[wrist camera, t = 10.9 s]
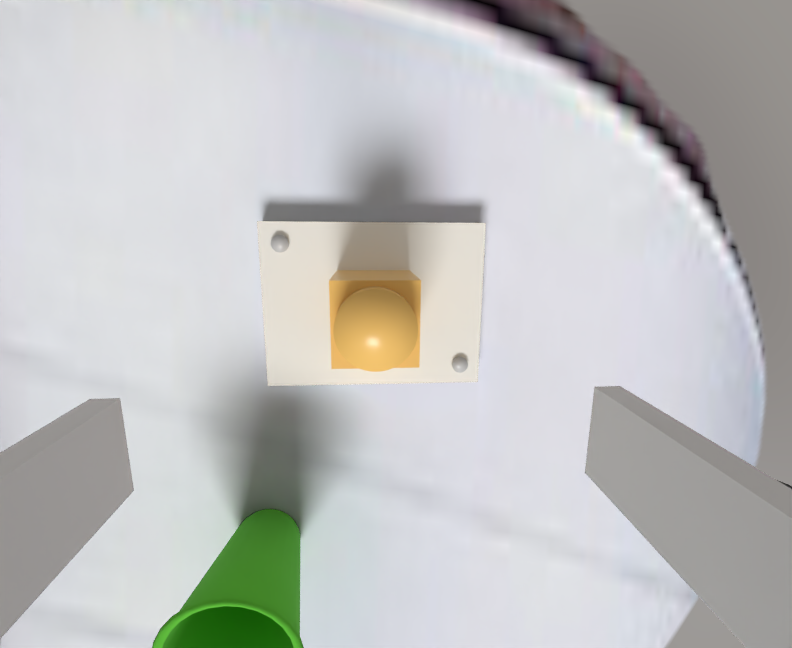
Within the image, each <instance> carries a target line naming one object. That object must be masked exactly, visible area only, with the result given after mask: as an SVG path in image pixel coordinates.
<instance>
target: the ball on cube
mask: <svg viewBox="0 0 792 648" xmlns="http://www.w3.org/2000/svg"><path fill="white" fill-rule="evenodd" d="M329 302H330V335H331V369H362V370H365V371H371V372H380V371H386V370H389V369H392V368H419V367H420V313H421V280H420V279H419V278H418V277H417V276H416V275H415V274H413V273H412V272H411V271H410V270H337V271H336V272H335V274H334V275H333V276H332V277H331V279H330V280H329Z"/></svg>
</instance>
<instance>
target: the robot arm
mask: <svg viewBox="0 0 792 648" xmlns="http://www.w3.org/2000/svg"><path fill="white" fill-rule="evenodd" d="M585 473H586V474H587V475H588V477H589V478H590V479H591V480H592V481H593V482H594V483H595V484H596V485H597V486H598V487H599V488H600V490H601V491H602V492H603V493H604V494H605V495H606V496H607V497H608V498H609V499H610V500H611V502H612V503H613V504H614V505H615V506H616V507H617V508H618V509H619V510H620V511H621V512H622V514H623V515H624V516H625V517H626V518H627V519H628V520H629V521H630V522H631V523H632V524H633V525H634V527H635V528H636V529H637V530H638V531H639V532H640V533H641V534H642V535H643V536H644V537H645V539H646V540H647V541H648V542H649V543H650V544H651V545H652V546H653V547H654V548H655V549H656V550H657V552H658V553H659V554H660V555H661V556H662V557H663V558H664V559H665V560H666V561H667V562H668V564H669V565H670V566H671V567H672V568H673V569H674V570H675V571H676V572H677V573H678V574H679V576H680V577H681V578H682V579H683V580H684V581H685V582H686V583H687V584H688V585H689V586H690V587H691V589H692V590H693V591H694V592H695V593H696V594H697V595H698V596H699V597H700V598H701V599H702V600H703V602H704V603H705V604H706V605H707V606H708V607H709V608H710V609H711V610H712V611H713V613H715V615H716V616H717V617H718V618H719V619H720V620H721V621H722V622H723V623H724V624H725V626H726V627H727V628H728V629H729V630H730V631H731V632H732V633H733V634H734V635H735V636H736V638H737V639H738V640H739V641H740V642H741V643H742V644H743V645H744V646H745V647H746V648H792V487H791V486H790V485H788V484H785V483H783V482H780V481H778V480H776V479H774V478H772V477H771V476H769V475H767V474H766V473H764V472H762V471H761V470H759V469H757V468H756V467H754V466H752V465H751V464H749V463H747V462H746V461H744V460H742V459H741V458H739V457H737V456H736V455H734V454H732V453H731V452H729V451H727V450H726V449H724V448H722V447H721V446H719V445H717V444H716V443H714V442H712V441H711V440H709V439H707V438H706V437H704V436H702V435H701V434H699V433H697V432H696V431H694V430H692V429H691V428H689V427H687V426H686V425H684V424H682V423H680V422H679V421H677V420H675V419H674V418H672V417H670V416H669V415H667V414H665V413H664V412H662V411H660V410H659V409H657V408H655V407H654V406H652V405H650V404H649V403H647V402H645V401H644V400H642V399H640V398H639V397H637V396H635V395H634V394H632V393H630V392H629V391H627V390H625V389H624V388H622V387H620V386H608V387H595V388H594V396H593V405H592V414H591V423H590V432H589V441H588V449H587V458H586V467H585ZM133 491H134V488H133V482H132V475H131V468H130V462H129V455H128V448H127V442H126V435H125V428H124V422H123V415H122V408H121V401H120V398H113V399H89V400H87V401H86V402H84V403H82V404H81V405H79V406H77V407H76V408H74V409H72V410H71V411H69V412H67V413H66V414H64V415H62V416H61V417H59V418H57V419H56V420H54V421H52V422H51V423H49V424H47V425H46V426H44V427H42V428H41V429H39V430H38V431H36V432H34V433H33V434H31V435H29V436H28V437H26V438H24V439H23V440H21V441H19V442H18V443H16V444H14V445H13V446H11V447H9V448H8V449H6V450H4V451H3V452H1V453H0V639H1V638H2V636H3V635H4V634H5V633H6V632H7V631H8V630H9V629H10V628H11V626H12V625H13V624H14V623H15V622H16V621H17V620H18V619H19V618H20V616H21V615H22V614H23V613H24V612H25V611H26V610H27V609H28V608H29V606H30V605H31V604H32V603H33V602H34V601H35V600H36V599H37V598H38V596H39V595H40V594H41V593H42V592H43V591H44V590H45V589H46V588H47V586H48V585H49V584H50V583H51V582H52V581H53V580H54V579H55V578H56V576H57V575H58V574H59V573H60V572H61V571H62V570H63V569H64V568H65V566H66V565H67V564H68V563H69V562H70V561H71V560H72V559H73V558H74V556H75V555H76V554H77V553H78V552H79V551H80V550H81V549H82V548H83V546H84V545H85V544H86V543H87V542H88V541H89V540H90V539H91V538H92V536H93V535H94V534H95V533H96V532H97V531H98V530H99V529H100V528H101V526H102V525H103V524H104V523H105V522H106V521H107V520H108V519H109V518H110V516H111V515H112V514H113V513H114V512H115V511H116V510H117V509H118V508H119V506H120V505H121V504H122V503H123V502H124V501H125V500H126V499H127V498H128V496H129V495H130V494H131V493H132V492H133Z"/></svg>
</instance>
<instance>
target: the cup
mask: <svg viewBox="0 0 792 648" xmlns="http://www.w3.org/2000/svg"><path fill="white" fill-rule="evenodd" d="M152 648H304V647H303V644H302V641H301V638H300V532H299V529H298V527H297V524H296V523H295V521H294V520H293V519H292V518H291V517H290V516H289V515H288V514H286V513H284V512H282V511H279V510H276V509H265V510H260V511H257V512H255V513H253V514H252V515H250V516H249V517H247V518H246V519H245V520H244V521H243V522H242V523H241V525H240V526H239V527H238V529H237V530H236V532H235V533H234V534H233V536H232V537H231V539H230V540H229V542H228V543H227V544H226V546H225V547H224V549H223V550H222V552H221V553H220V554H219V556H218V557H217V559H216V560H215V561H214V563H213V564H212V566H211V567H210V569H209V570H208V571H207V573H206V574H205V576H204V577H203V578H202V580H201V581H200V583H199V584H198V586H197V587H196V588H195V590H194V591H193V593H192V594H191V596H190V597H189V598H188V600H187V601H186V603H185V604H184V605H183V607H182V608H181V610H180V611H179V612H178V613H177V614H175V615H173V616H172V617H171V618H170V619H169V620H168V621H167V622H166V623H165V624H164V625H163V626H162V627H161V629H160V630H159V632H158V634H157V636H156V638H155V640H154V642H153V647H152Z"/></svg>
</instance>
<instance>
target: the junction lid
mask: <svg viewBox="0 0 792 648" xmlns="http://www.w3.org/2000/svg"><path fill="white" fill-rule="evenodd" d="M257 229H258V244H259V259H260V275H261V290H262V305H263V320H264V336H265V351H266V366H267V382H268V386H294V385H347V384H400V383H452V382H478V366H479V346H480V327H481V307H482V288H483V268H484V248H485V229H486V223H425V222H291V221H257ZM337 270H410V271H411V272H412V273H413V274H415V275H416V276H417V277H418V278H419V279H420V280H421V313H420V367H419V368H392V369H389V370H386V371H380V372H371V371H365V370H362V369H331V335H330V302H329V280H330V279H331V277H332V276H333V275H334V274H335V272H336V271H337Z"/></svg>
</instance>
